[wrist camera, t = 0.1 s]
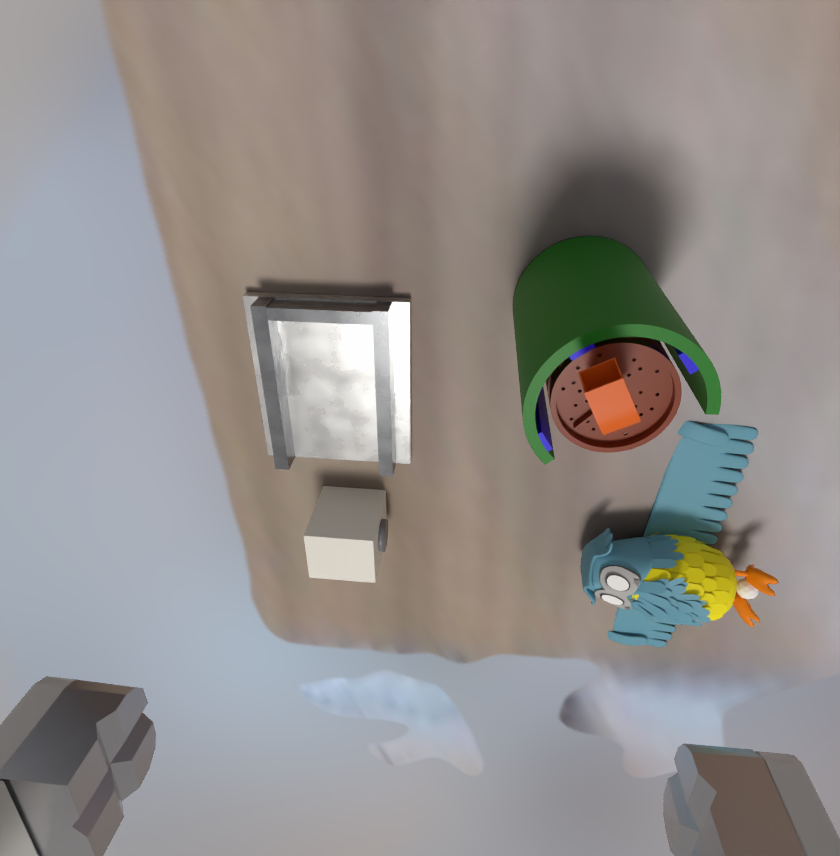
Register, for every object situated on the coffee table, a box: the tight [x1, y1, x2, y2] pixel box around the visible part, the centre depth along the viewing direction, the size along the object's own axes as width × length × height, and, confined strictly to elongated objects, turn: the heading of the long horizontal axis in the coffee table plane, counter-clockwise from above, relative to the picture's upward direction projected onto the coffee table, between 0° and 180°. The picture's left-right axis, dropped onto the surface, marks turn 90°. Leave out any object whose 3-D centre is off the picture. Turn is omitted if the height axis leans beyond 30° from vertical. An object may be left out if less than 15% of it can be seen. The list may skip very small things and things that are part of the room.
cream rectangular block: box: [304, 486, 388, 583], centre depth 55 cm, size 5×6×7 cm
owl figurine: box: [581, 421, 779, 647], centre depth 53 cm, size 28×9×15 cm
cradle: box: [243, 292, 412, 476], centre depth 49 cm, size 15×13×3 cm
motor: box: [513, 236, 721, 464], centre depth 36 cm, size 10×9×20 cm
